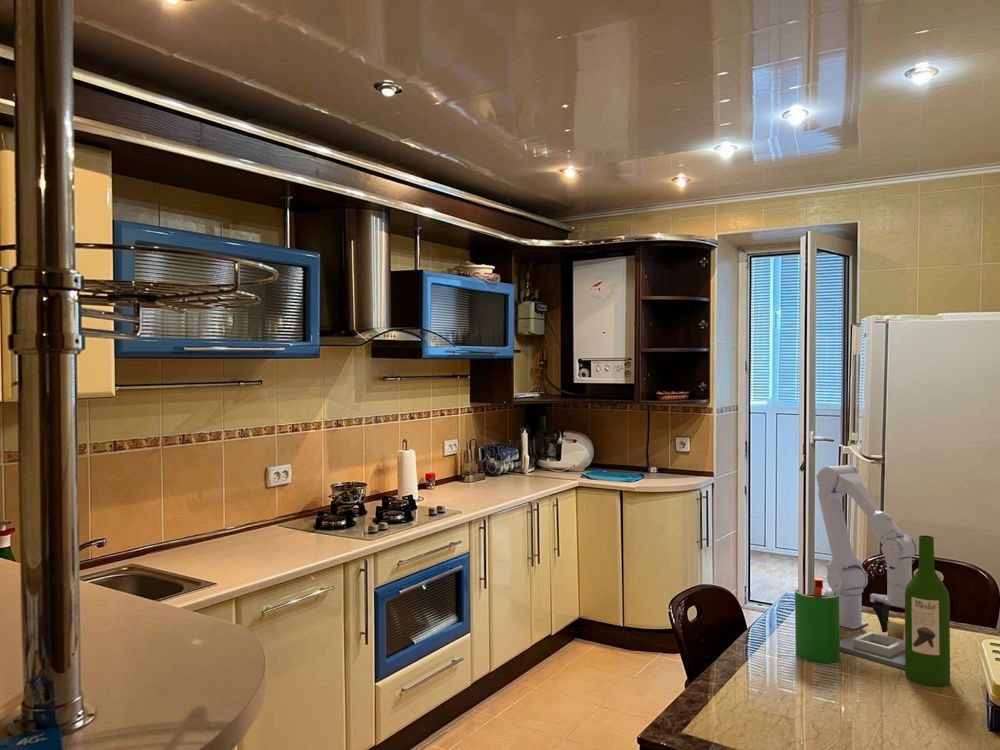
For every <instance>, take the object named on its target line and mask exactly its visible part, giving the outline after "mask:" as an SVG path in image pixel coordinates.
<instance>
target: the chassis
mask: <svg viewBox="0 0 1000 750" xmlns="http://www.w3.org/2000/svg"><path fill="white" fill-rule="evenodd" d="M840 652H844V653H846V654H850V655H854V656H857V657H861V658H863V659H864V658H865V659H867V660H871V661H875V662H878V663H881V664H885V665H887V666H888V665H889V666H892V667H896V668H899V669H902V670H905V640H902V639H898V638H894V637H890V636H888V635H886V634H883V633H882V634H881V633H879V632H874V631H868V632H866V633H861V632H857V633H854V634H852V635H850V636H847V637H845V638H843V639H840Z"/></svg>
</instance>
